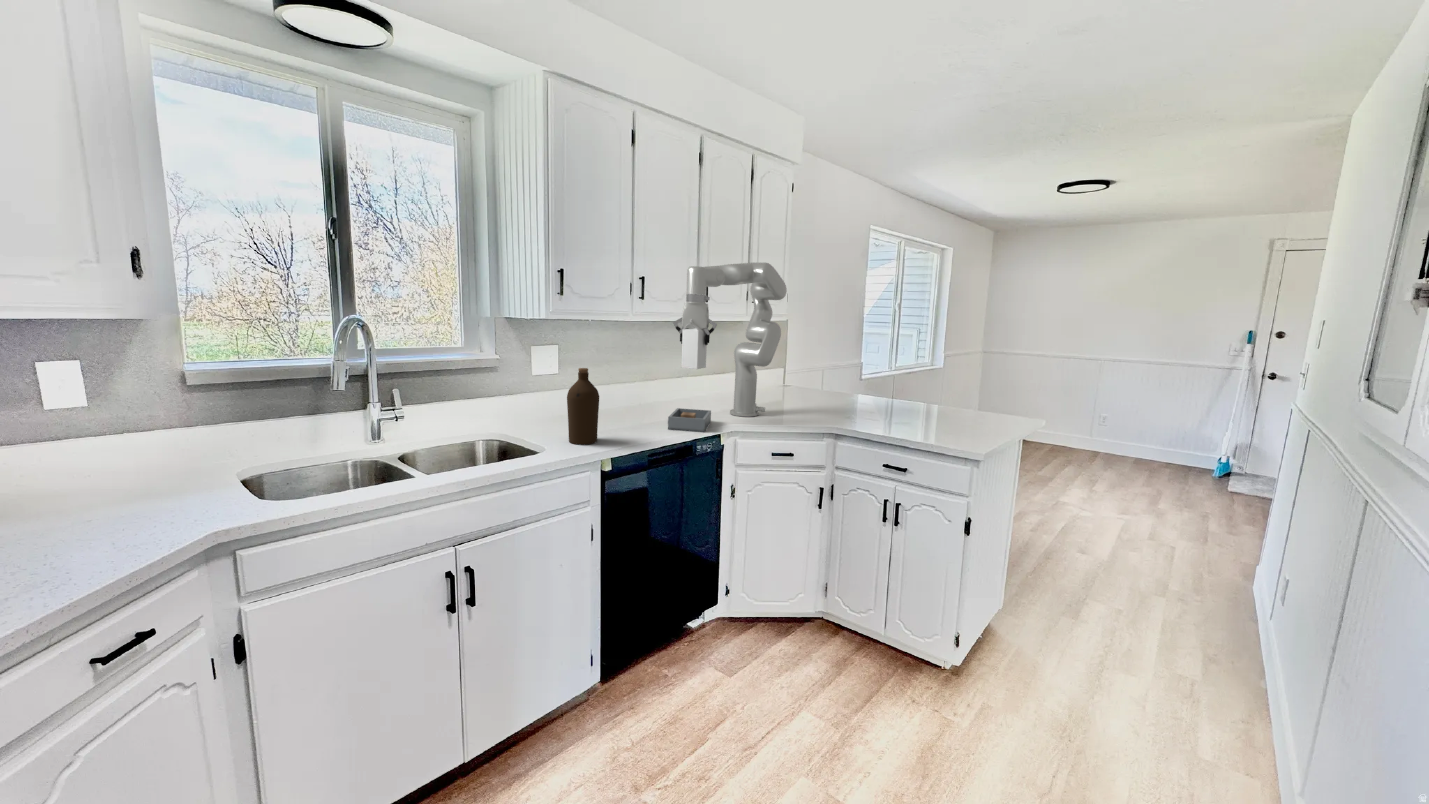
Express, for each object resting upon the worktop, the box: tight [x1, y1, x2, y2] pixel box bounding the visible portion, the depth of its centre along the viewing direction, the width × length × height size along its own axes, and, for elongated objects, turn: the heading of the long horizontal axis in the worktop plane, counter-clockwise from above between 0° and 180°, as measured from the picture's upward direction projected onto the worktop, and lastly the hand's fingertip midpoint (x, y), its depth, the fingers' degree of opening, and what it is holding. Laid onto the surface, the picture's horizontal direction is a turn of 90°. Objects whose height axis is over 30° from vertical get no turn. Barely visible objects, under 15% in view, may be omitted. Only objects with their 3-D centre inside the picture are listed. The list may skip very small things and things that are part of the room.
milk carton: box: [681, 319, 708, 370], centre depth 225 cm, size 7×7×19 cm
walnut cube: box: [681, 412, 696, 418], centre depth 222 cm, size 5×5×5 cm
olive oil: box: [566, 367, 600, 446], centre depth 194 cm, size 11×11×25 cm
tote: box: [667, 407, 712, 433], centre depth 227 cm, size 14×18×5 cm
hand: (694, 344), depth 225 cm, fingers closed on milk carton, 9 cm apart
